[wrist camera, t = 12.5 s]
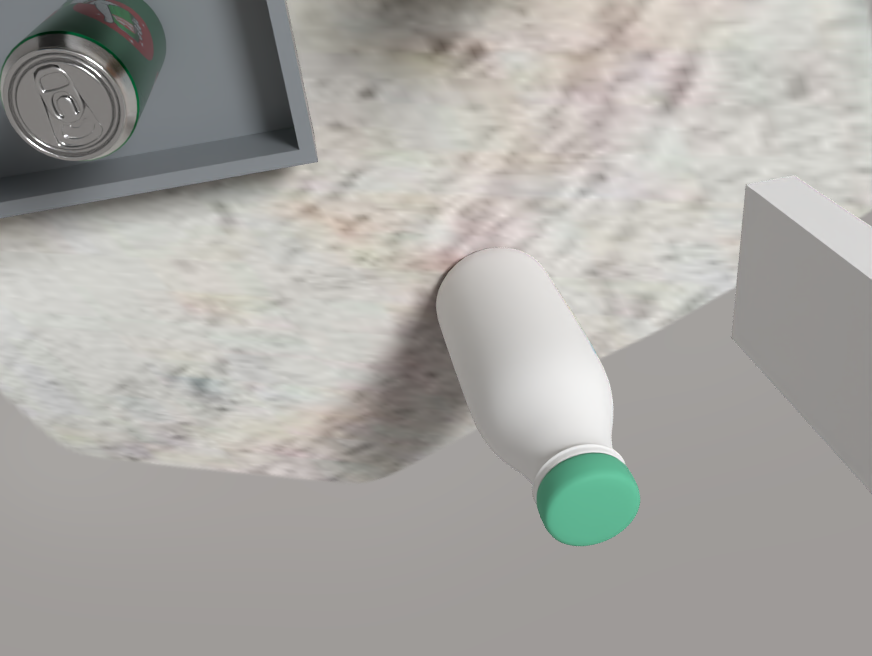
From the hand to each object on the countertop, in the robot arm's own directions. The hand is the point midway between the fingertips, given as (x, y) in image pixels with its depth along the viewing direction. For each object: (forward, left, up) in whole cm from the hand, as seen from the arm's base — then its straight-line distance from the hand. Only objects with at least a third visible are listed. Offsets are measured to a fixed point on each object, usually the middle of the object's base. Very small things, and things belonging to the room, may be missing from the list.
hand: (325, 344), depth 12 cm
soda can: (+1, -9, -34) cm, 35 cm away
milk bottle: (+21, +9, -35) cm, 42 cm away
